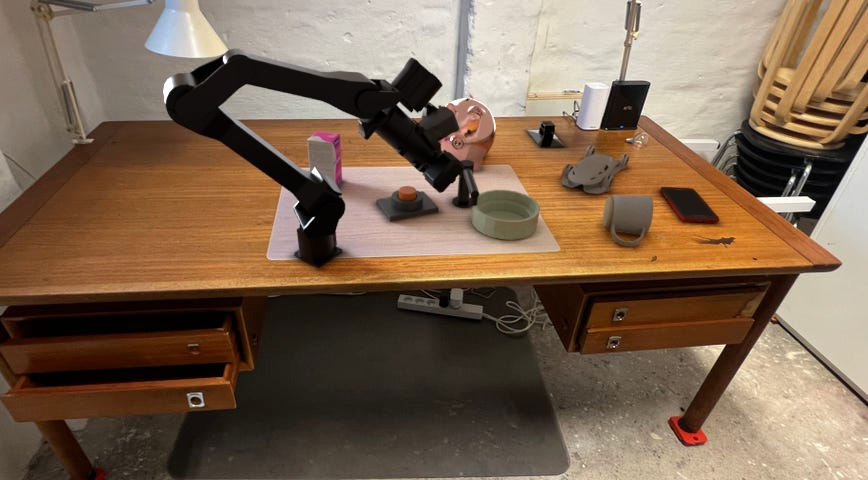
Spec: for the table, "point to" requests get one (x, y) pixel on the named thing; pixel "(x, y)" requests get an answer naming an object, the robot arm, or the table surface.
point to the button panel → (406, 206)
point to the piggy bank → (470, 131)
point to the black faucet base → (462, 195)
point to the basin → (505, 214)
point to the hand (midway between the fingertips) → (453, 180)
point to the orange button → (407, 193)
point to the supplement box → (326, 154)
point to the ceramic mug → (628, 216)
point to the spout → (470, 181)
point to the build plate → (546, 136)
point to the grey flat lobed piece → (593, 172)
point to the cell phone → (689, 205)
